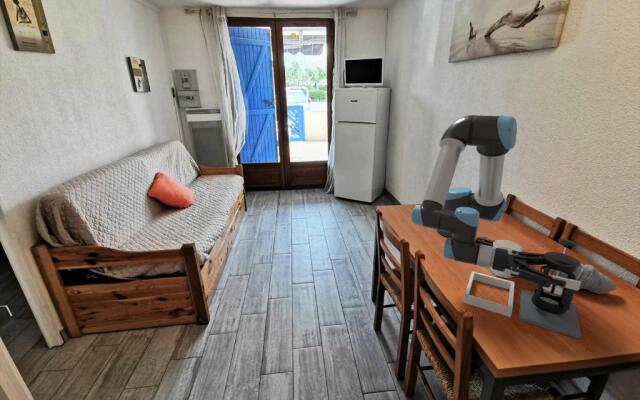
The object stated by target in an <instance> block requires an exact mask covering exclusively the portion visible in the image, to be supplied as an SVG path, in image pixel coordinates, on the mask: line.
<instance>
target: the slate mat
mask: <svg viewBox="0 0 640 400" xmlns="http://www.w3.org/2000/svg"><path fill="white" fill-rule="evenodd" d="M533 294H534V291H529V290H526V289H521V290H520V303H519V304H520V307H519V321H522V322H525V323H529V324H531V325H535V326H538V327H541V328H544V329H547V330H550V331H554V332H556V333H559V334H563V335H566V336H568V337H572V338H575V339H579V340H582V333H581V332H582V331H581V328H580V327H581V326H580V323H579V317H578V312H577V308H576V303H575V302H571V305H570V308H569V310H567V312H566V313H564V314H552V313H548V312H545V311H543V310H541V309H539V308H538V307H536V306H535V305H534V304H533V303H532V300H531V298H532V296H533ZM540 298H541V299H542V300H544V301H546V302H549V303H552V304H556V305H558V304H559V303H558V302H556V301H554V300H552V299H549V298H545V297H540Z"/></svg>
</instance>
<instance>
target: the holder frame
mask: <svg viewBox="0 0 640 400" xmlns="http://www.w3.org/2000/svg"><path fill="white" fill-rule="evenodd" d="M474 281H476V282H480V283H484V284H487V285H490V286H494V287H498V288H502V289H506V290H509V292H508V293H509V294H508V304H507V305H506V304H505V305H504V304H501V303H498V302H495V301H492V300H489V299H485V298H481V297H478V296H475V295H471V294H470V293H471V289H472V285H473V282H474ZM514 292H515V281H512V280H507V279H505V278H504V279H503V278H501V277H500V278H499V277H495V276H492V275H489V274H485V273H480V272H478V271H471V273H470V277H469V280H468V283H467V286H466V290H465V293H464V297H463V303H465V304H468V305H471V306H475V307H478V308H481V309H483V310H487V311H490V312H493V313H496V314H499V315H503V316H506V317H509V318H511V317H512V313H513V305H514Z"/></svg>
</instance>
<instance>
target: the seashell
mask: <svg viewBox="0 0 640 400" xmlns="http://www.w3.org/2000/svg"><path fill="white" fill-rule="evenodd" d="M580 263H581V265H580V267H578V268H577V271H575V272H572V273H573V274H574V275H575V276H576V281H581V285H580V288H579V290H581V289H583V290H587V291H589V292H590V293H594V294H598V295H603V294H607V293H610V292H612V291H616V290H618V287H617V285H616V283H615V282H614V281H613V280H612V279H611V278H609V277H608V276H606V275H604V274H603V273H602V272H599V271H598V270H597V269H596V268H595V267H594V266H593V265H591V264H587V263H585V264H583V263H582V262H580ZM557 272H558V270H553V269H550V271H549V274H550V276H551V277H552V276H553V275H554V276H556V275H557ZM558 276H559V277H563V278H567V277H568V274H566V273H563V272H561V271H559V274H558ZM573 280H574V279H573Z"/></svg>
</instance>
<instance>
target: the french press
mask: <svg viewBox="0 0 640 400" xmlns="http://www.w3.org/2000/svg"><path fill="white" fill-rule="evenodd" d="M557 241H558V242H559V243H560V244H562V245H563V252H557V251H556V252H555V251H548V252H545V253H543V254H544V258H545V260H544V262H545V264H546V265H541V267H540V269H539V271H540V272H542V273H545V274H547V275H549V274H550V273H549V271H550V269H553V270H558V272H557V275H556V276H558V274H559V271H561V272H563V273H566V274H568V277H567V278H568V279H572V280H573V279H574V280H576V276H575V275H574V274H573V273H572V272H575V271H577V268H578V267H580V265H581V263H582V262H580V260H579V259H578V258H575V257H574V256H572V255H569V254H565V252H566V249H567V248H568V247H575V246H576V245H577V243H576V242H574V241H572V240H570V239H566V238H560V239H559V238H558V240H557ZM533 292H534V294H533V296H532V298H531V300H532V303H533V304H534V305H535V306H536V307H538V308H539V309H541V310H543V311H545V312H548V313H552V314H564V313H566V312H567V310H569V308H570V305H571V303H573V302H572V301H573V298H574V295H575V292H576V290H573V289H569V288H565V287H561V286H557V285H552V284H551V285H550V287H548V288H546V287H543V286H541V285H538V284H537V288H535V289H534V291H533ZM540 297H545V298H549V299H552V300H554V301H556V302H558V303H559V304H558V305H556V304H552V303H549V302H546V301H544V300H542V299H541V298H540Z"/></svg>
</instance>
